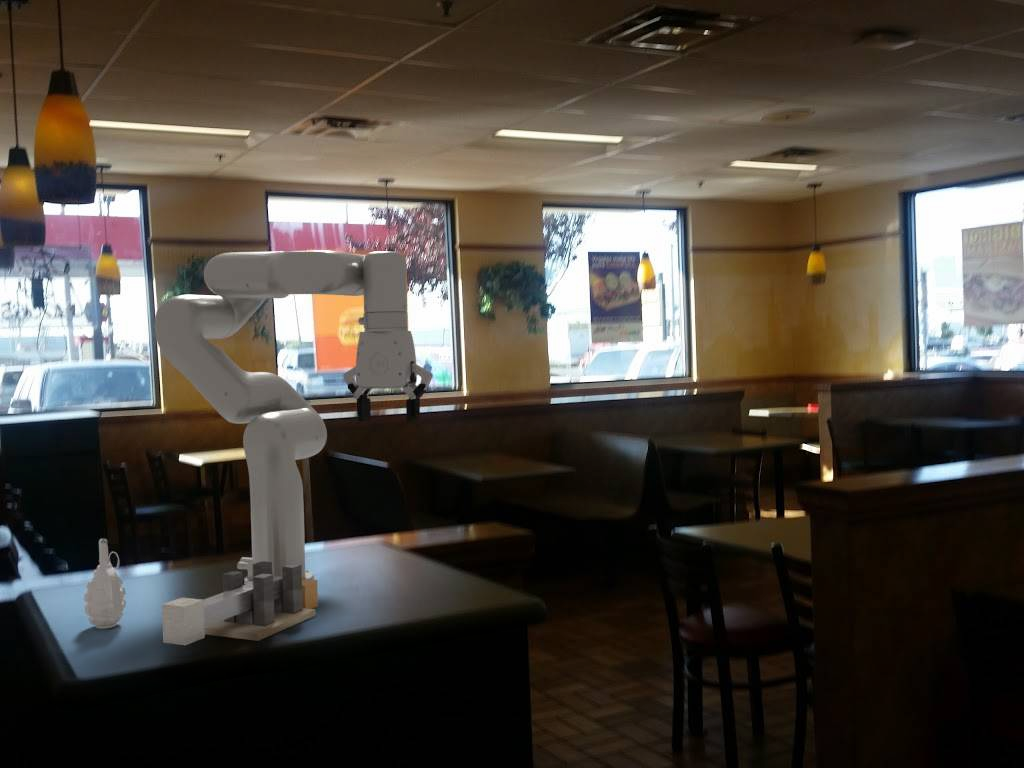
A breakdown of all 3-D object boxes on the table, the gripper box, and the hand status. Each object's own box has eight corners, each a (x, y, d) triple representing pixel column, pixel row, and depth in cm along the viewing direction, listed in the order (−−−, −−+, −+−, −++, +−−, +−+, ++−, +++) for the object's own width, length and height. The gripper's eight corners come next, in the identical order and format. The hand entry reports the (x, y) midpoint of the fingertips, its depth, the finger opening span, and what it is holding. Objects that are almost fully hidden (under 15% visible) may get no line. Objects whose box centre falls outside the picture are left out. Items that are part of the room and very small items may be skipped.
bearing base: (199, 633, 160) (197, 578, 159) (260, 609, 173) (258, 558, 173) (258, 640, 155) (256, 584, 155) (315, 615, 169) (314, 563, 169)
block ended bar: (163, 642, 147) (161, 604, 147) (269, 601, 170) (268, 567, 170) (185, 645, 146) (184, 606, 146) (289, 603, 168) (288, 569, 168)
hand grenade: (78, 626, 165) (74, 539, 164) (116, 618, 169) (113, 533, 169) (98, 635, 160) (95, 545, 159) (137, 627, 164) (134, 539, 163)
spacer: (273, 583, 173) (286, 577, 177) (274, 609, 173) (286, 604, 177) (304, 585, 171) (317, 580, 175) (305, 612, 171) (317, 606, 175)
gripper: (331, 324, 181) (334, 422, 181) (419, 322, 174) (421, 424, 174) (355, 324, 187) (357, 419, 188) (440, 322, 181) (442, 420, 181)
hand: (388, 421), depth 181 cm, fingers open, 9 cm apart
